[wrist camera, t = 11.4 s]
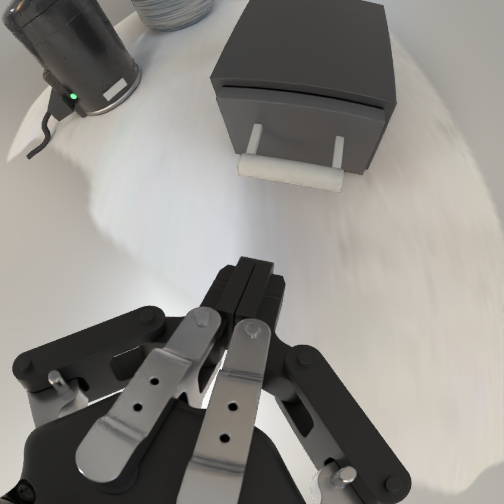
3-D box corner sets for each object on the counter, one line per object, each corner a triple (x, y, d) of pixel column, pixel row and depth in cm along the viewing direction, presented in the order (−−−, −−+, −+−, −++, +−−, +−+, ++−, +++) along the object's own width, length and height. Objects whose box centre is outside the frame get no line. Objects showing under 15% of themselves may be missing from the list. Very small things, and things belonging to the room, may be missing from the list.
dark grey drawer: (357, 221, 23) (383, 179, 15) (222, 196, 25) (196, 149, 17) (366, 73, 26) (378, 20, 19) (265, 59, 28) (257, 5, 21)
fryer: (367, 169, 25) (396, 103, 16) (234, 147, 27) (209, 77, 18) (370, 67, 27) (383, 5, 18) (265, 52, 30) (255, -11, 20)
